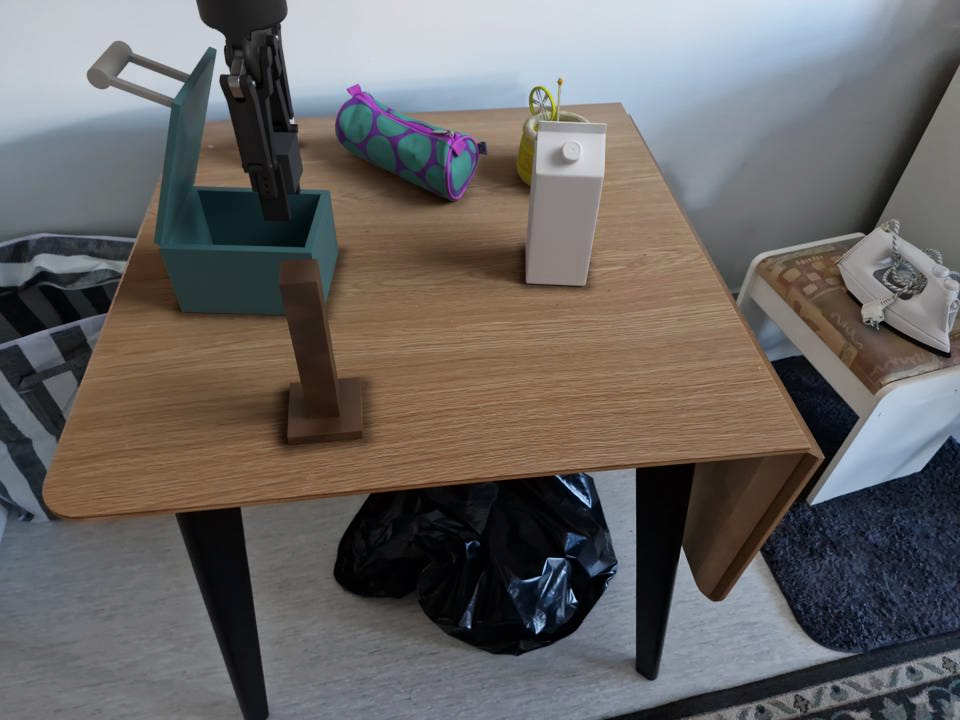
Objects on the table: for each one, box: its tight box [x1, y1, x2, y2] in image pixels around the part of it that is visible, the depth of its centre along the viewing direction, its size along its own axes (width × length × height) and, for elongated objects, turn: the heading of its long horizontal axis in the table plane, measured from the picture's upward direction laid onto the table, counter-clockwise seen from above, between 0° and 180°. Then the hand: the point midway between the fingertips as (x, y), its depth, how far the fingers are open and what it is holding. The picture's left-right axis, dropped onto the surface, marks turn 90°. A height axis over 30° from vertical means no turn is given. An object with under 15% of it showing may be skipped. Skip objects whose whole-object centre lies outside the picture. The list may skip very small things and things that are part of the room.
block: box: [247, 132, 304, 193], centre depth 74 cm, size 4×4×4 cm
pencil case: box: [334, 83, 488, 202], centre depth 99 cm, size 21×9×10 cm, turn 54°
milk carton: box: [525, 121, 608, 287], centre depth 82 cm, size 7×7×19 cm
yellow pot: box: [516, 77, 591, 187], centre depth 99 cm, size 13×11×12 cm
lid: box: [86, 40, 218, 246], centre depth 72 cm, size 17×12×9 cm
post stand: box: [279, 259, 364, 446], centre depth 65 cm, size 7×7×18 cm
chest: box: [158, 185, 340, 316], centre depth 82 cm, size 16×12×9 cm
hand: (282, 204), depth 78 cm, fingers closed on block, 4 cm apart
